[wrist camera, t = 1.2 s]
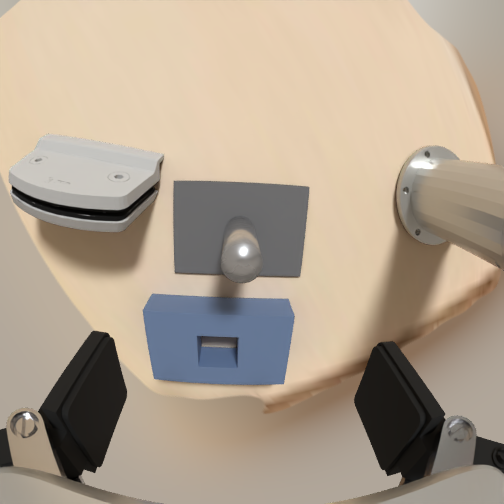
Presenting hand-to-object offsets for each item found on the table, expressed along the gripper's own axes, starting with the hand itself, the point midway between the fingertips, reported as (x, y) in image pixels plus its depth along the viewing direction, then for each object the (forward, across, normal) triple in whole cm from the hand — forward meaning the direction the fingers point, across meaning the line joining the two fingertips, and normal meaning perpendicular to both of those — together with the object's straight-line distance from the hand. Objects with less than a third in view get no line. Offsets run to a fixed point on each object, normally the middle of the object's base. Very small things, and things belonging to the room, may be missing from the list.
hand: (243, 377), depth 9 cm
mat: (+22, 0, 0) cm, 22 cm away
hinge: (+22, +17, -5) cm, 29 cm away
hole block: (+22, +2, +13) cm, 26 cm away
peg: (+22, 0, 0) cm, 22 cm away
